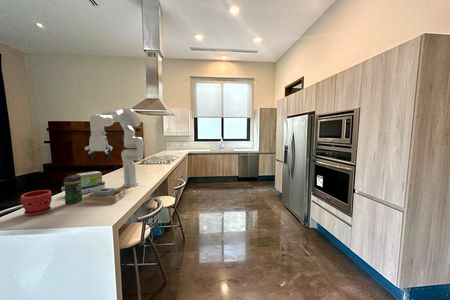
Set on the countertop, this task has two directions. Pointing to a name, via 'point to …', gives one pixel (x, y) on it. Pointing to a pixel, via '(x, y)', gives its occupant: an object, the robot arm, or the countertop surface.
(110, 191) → the inlet socket
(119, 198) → the oak crate
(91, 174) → the tea box
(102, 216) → the countertop surface
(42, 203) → the plant pot
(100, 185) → the salt shaker
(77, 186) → the coffee jar
